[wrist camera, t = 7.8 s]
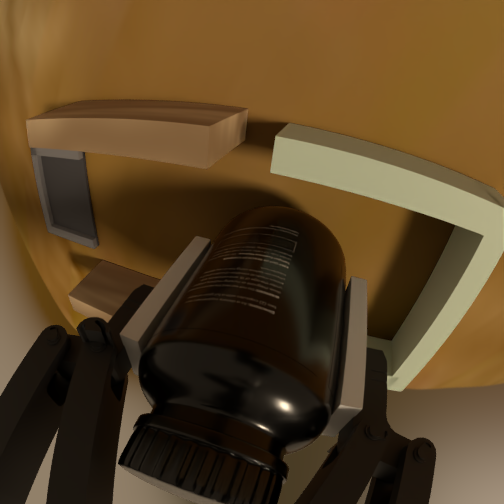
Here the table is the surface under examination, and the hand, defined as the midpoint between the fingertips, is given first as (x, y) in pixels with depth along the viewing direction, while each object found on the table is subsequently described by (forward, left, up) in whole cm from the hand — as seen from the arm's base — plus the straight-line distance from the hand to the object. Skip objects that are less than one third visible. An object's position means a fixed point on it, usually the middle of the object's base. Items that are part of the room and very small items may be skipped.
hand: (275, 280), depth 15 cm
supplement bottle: (0, 0, -2) cm, 2 cm away
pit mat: (0, -17, -3) cm, 17 cm away
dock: (0, +4, -3) cm, 5 cm away
